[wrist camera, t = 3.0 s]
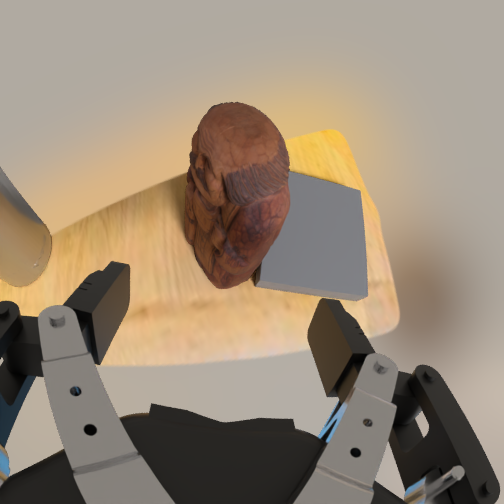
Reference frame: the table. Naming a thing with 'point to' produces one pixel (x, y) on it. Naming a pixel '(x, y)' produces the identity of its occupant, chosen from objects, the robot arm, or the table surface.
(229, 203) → the wooden figurine
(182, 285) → the table surface
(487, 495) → the robot arm
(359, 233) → the base
